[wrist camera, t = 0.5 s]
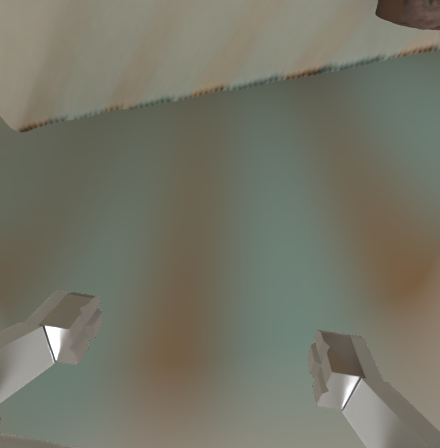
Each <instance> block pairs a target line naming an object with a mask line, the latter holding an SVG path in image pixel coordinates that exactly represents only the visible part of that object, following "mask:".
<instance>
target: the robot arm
mask: <svg viewBox="0 0 440 448" xmlns="http://www.w3.org/2000/svg"><path fill="white" fill-rule="evenodd" d="M100 304H101V303H100V299H99V297H97V296H92V295H87V294H81V293H76V292H69V291H63V290H58V291H56V292H54V293H53V294H52V295H51V296H50V297H49V298H48V299H47V300H46V301H45V302H44V303H43V304H42V305H41V306H40V307H39V308H38V309H37V310H36V311H35V312H34V313H33V314H32V315H31V316H30V317H29V318H28V319H27V320H26V321H25V322H24V323H17V324H15V325H13V326H11V327H9V328H7V329H5V330H2V331H0V403H1V402H2V401H3V400H5V399H6V398H8V397H9V396H11V395H12V394H13V393H15V392H16V391H17V390H19V389H20V388H22V387H23V386H24V385H26V384H27V383H28V382H30V381H31V380H32V379H34V378H35V377H36V376H38V375H39V374H41V373H42V372H43V371H45V370H46V369H47V368H49V367H50V366H51V365H53V364H54V363H55V362H60V363H67V364H74V365H78V364H79V363H80V361H81V359H82V358H83V357H84V355H85V353H86V352H87V350H88V348H89V347H88V342H90V341H91V340H93V339H94V338H96V336H97V334H98V333H99V331H100V329H101V325H102V321H103V315H102V312H101V311H100V310H99V309H98V307H99V306H100ZM314 338H315V343H314V344H312V345H311V347H310V350H309V356H308V364H309V371H310V374H311V375H312V376H313V377H314V379H315V381H314V383H313V391H314V396H315V401H316V405H317V406H320V407H325V408H330V409H335V410H340V411H343V412H342V413H343V414H344V415H345V417H346V419H347V420H348V421H349V423H350V424H351V426H352V427H353V429H354V430H355V431H356V433H357V434H358V436H359V437H360V439H361V440H362V442H363V443H364V445H365V446H366V447H367V448H440V431H439V430H438V429H437V428H435V427H434V426H433V425H432V424H431V423H430V422H429V421H428V420H427V419H426V418H425V417H424V416H423V415H422V414H421V413H420V412H419V411H418V410H417V409H416V408H415V407H414V406H413V405H411V404H410V403H409V402H408V401H407V400H406V399H405V398H404V397H403V396H402V395H401V394H400V393H399V392H398V391H397V390H396V389H395V388H394V387H393V386H392V385H391V384H390V383H389V382H384V381H383V379H382V377H381V374H380V372H379V370H378V368H377V366H376V363H375V361H374V359H373V357H372V355H371V352H370V350H369V348H368V346H367V343H366V341H365V339H364V338H363V337H362V336H357V335H350V334H344V333H336V332H330V331H323V330H318V331H317V332H316V333H315V336H314ZM0 424H1V418H0ZM0 448H78V447H73V446H68V445H62V444H57V443H52V442H47V441H41V440H36V439H31V438H25V437H20V436H15V435H10V434H5V433H0Z"/></svg>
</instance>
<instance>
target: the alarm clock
mask: <svg viewBox="0 0 440 448" xmlns="http://www.w3.org/2000/svg"><path fill="white" fill-rule="evenodd" d="M375 14H376V15H377V16H378V17H380V18H382V19H384V20H387V21H390V22H392V23H395V24H398V25H402V26H407V27H412V28H417V29H423V30H425V29H430V30H440V0H379V1H378V5H377V9H376V13H375Z"/></svg>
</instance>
